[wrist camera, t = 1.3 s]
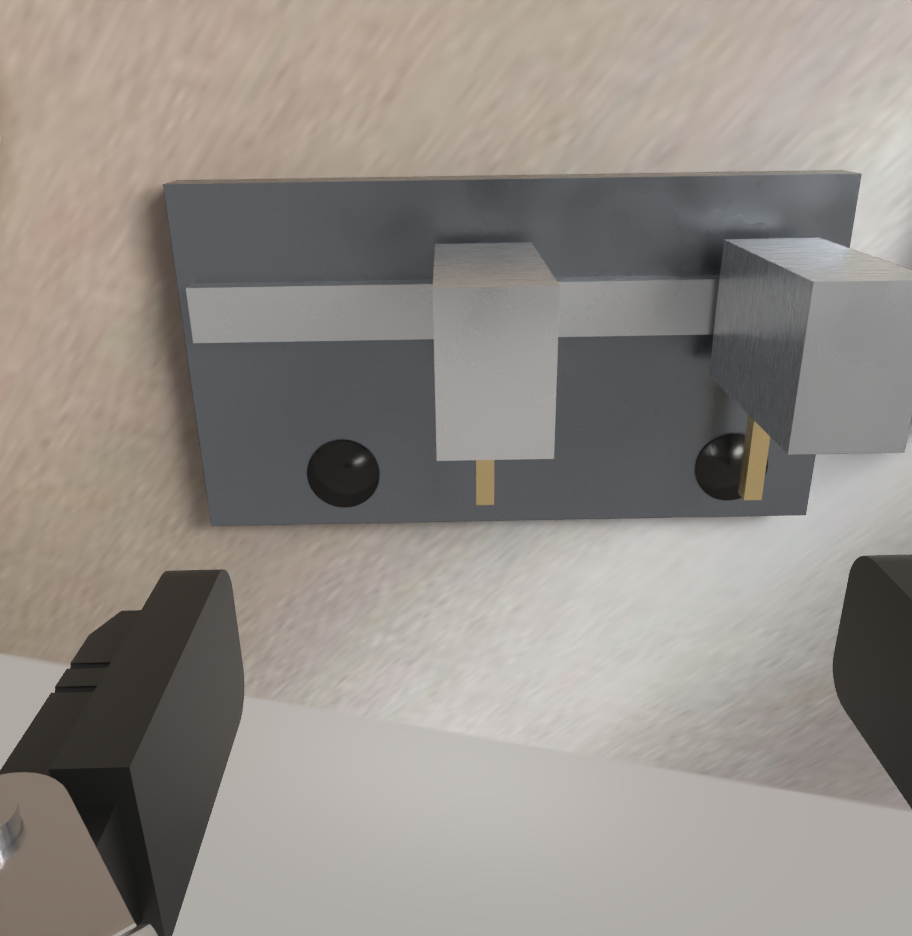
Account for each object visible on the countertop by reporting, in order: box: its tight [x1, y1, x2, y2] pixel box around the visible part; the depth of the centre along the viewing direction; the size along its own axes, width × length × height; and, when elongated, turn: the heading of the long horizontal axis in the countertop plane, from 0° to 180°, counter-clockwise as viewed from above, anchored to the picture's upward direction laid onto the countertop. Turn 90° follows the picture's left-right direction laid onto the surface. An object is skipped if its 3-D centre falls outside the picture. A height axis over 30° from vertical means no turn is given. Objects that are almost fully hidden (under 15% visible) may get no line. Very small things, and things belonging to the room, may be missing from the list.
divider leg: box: [433, 242, 560, 505], centre depth 25 cm, size 3×8×7 cm, turn 1°
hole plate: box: [163, 170, 861, 526], centre depth 29 cm, size 22×12×2 cm, turn 91°
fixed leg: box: [709, 238, 912, 500], centre depth 25 cm, size 3×8×7 cm, turn 1°
